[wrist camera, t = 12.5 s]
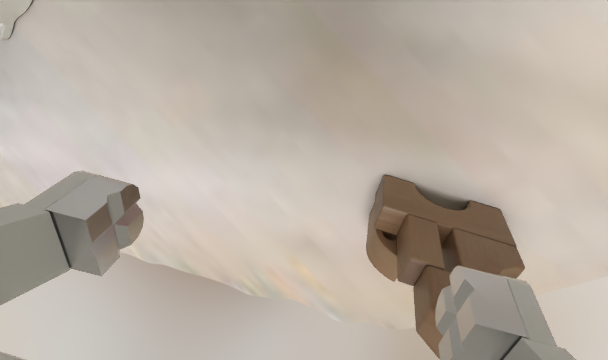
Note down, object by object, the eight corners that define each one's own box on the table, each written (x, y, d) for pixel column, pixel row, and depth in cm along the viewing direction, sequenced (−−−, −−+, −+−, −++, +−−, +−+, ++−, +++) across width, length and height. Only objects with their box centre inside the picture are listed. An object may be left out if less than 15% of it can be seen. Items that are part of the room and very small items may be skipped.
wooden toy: (366, 216, 44) (342, 443, 23) (384, 173, 40) (374, 398, 19) (486, 253, 43) (573, 525, 22) (516, 213, 39) (654, 494, 18)
